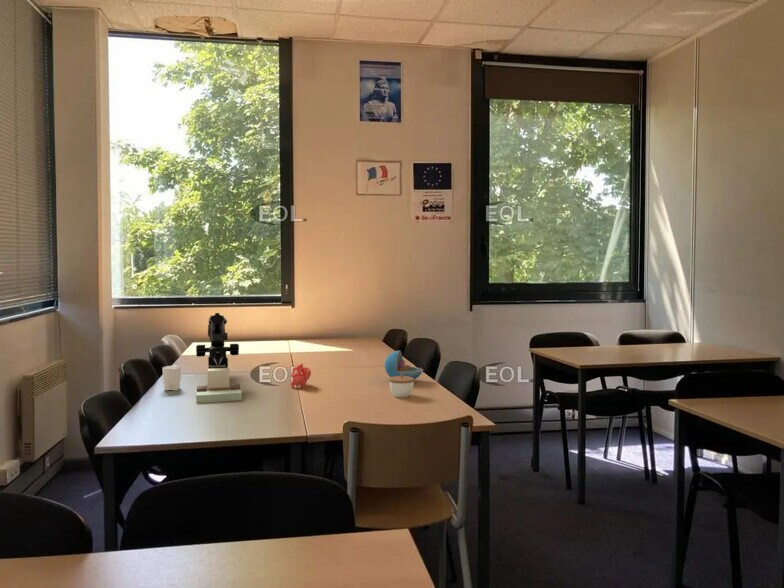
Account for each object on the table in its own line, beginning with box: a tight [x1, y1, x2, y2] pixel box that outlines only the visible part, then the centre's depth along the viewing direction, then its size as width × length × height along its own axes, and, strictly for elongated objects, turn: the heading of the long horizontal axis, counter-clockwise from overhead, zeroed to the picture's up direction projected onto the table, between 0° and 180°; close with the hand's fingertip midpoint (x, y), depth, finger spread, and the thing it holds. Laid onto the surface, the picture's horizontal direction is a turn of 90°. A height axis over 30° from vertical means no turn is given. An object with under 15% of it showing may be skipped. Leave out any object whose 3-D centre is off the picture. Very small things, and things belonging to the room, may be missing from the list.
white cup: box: [162, 365, 182, 391], centre depth 270 cm, size 8×8×10 cm
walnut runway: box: [196, 383, 241, 393], centre depth 260 cm, size 12×18×3 cm
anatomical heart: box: [290, 363, 312, 388], centre depth 278 cm, size 9×12×12 cm
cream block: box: [207, 367, 230, 388], centre depth 263 cm, size 6×9×8 cm, turn 107°
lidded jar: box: [388, 374, 415, 399], centre depth 261 cm, size 11×11×9 cm
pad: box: [195, 389, 243, 403], centre depth 251 cm, size 6×18×3 cm, turn 107°
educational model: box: [384, 350, 424, 380], centre depth 291 cm, size 16×19×15 cm
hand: (218, 365), depth 270 cm, fingers closed
